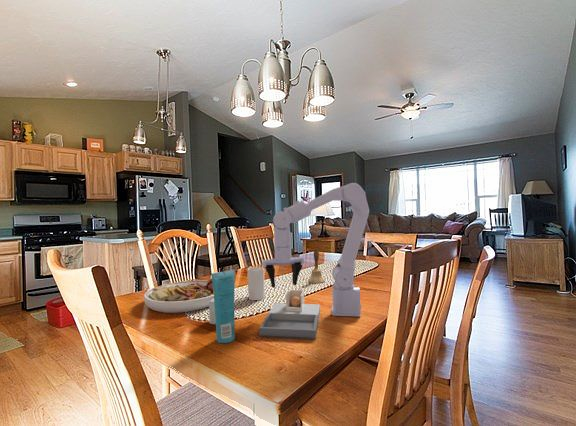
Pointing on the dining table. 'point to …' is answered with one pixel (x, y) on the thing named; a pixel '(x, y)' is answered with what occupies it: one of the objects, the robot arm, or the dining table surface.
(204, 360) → the dining table surface
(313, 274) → the hand bell
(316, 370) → the dining table surface
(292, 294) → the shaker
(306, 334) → the tray
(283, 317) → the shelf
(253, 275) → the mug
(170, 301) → the bowl
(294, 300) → the ball
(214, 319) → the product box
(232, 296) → the tube
